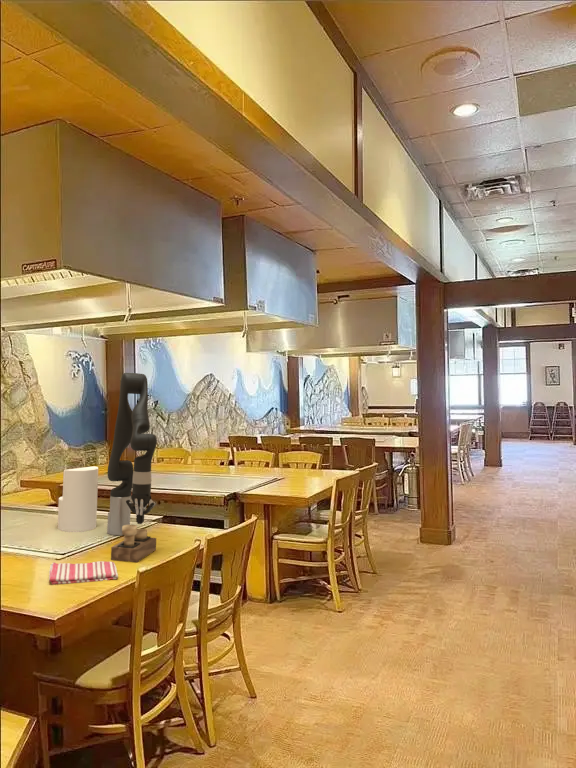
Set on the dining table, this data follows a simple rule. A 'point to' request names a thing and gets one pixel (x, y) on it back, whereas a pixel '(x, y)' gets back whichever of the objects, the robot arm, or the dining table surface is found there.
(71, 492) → the cylinder
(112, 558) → the socket block
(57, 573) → the dish towel
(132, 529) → the peg
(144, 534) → the peg
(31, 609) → the dining table surface
